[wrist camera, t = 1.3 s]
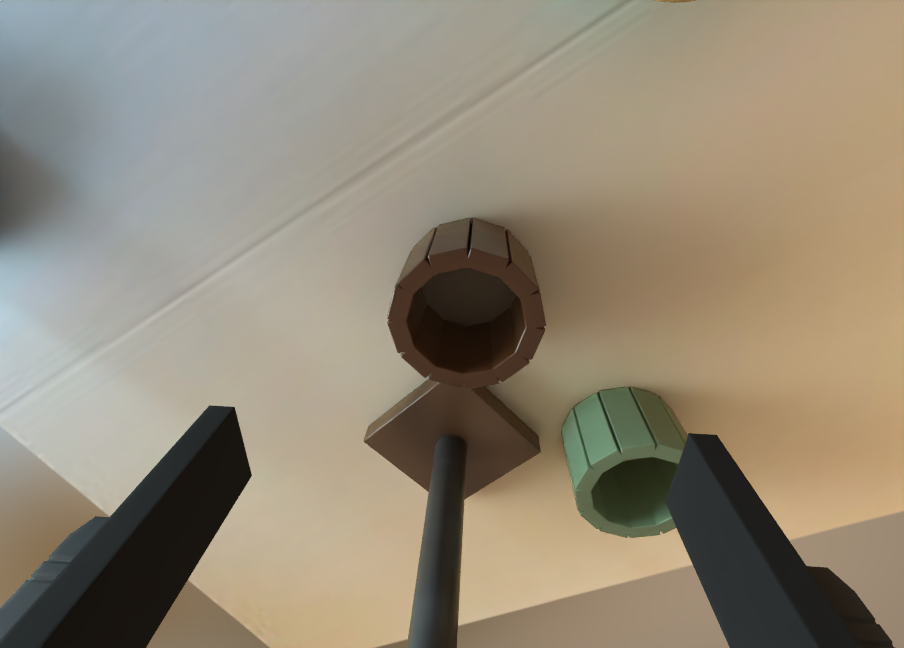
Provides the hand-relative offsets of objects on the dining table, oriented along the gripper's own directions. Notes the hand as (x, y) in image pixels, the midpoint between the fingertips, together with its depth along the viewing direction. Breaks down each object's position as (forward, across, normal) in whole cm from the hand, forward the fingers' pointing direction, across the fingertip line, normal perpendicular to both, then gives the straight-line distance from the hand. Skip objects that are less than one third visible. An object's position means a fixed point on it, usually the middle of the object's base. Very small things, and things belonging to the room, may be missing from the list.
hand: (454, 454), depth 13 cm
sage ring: (+13, +10, -10) cm, 19 cm away
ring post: (+13, -1, -10) cm, 17 cm away
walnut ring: (+13, 0, 0) cm, 13 cm away
